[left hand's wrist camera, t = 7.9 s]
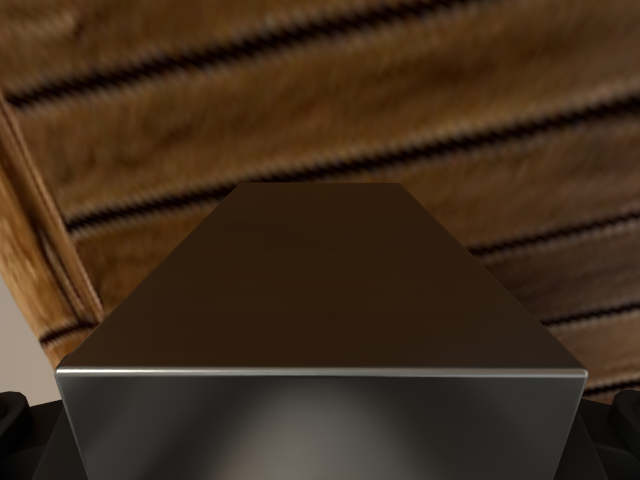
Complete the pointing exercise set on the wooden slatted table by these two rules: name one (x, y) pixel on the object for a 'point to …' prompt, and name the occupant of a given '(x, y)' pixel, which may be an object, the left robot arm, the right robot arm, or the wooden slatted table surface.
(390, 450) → the box
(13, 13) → the wooden slatted table surface
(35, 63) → the wooden slatted table surface
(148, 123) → the wooden slatted table surface
